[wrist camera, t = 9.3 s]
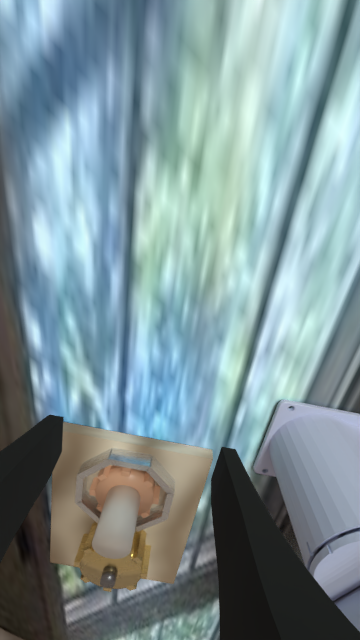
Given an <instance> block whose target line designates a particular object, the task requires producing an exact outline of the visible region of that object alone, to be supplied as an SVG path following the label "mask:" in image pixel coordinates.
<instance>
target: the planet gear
mask: <svg viewBox="0 0 360 640" xmlns="http://www.w3.org/2000/svg"><path fill="white" fill-rule="evenodd" d="M160 487H161V486H155V483H154V479H153V478H152V477H151V476H150V475H149V474H148V473H147V471H142V470H136V469H131V468H125V467H120V466H115V465H112V466H111V465H109V466H107V467H105V468H103V469H101V470H100V471H99V474H98V477H97V478H96V477H94V479H93V482H92V484H91V487H90V490H89V495H92V496H95V497H96V500H97V502H98V505H97V509H98V510H99V511H100V512H101V515H100V518H99V522H98V525H97V528H96V531H95V534H94V537H93V540H92V547H93V549H94V551H95V552H96V553H98V554H99V555H101V556H103V557H106V558H110V559H120V558H124V557H126V556H127V555H129V553H130V552H131V548H132V543H133V537H134V532H135V527H136V522H137V516H138V515H140V516H142V517H143V518H145V517H147V516H149V515H150V508H151V506H152V504H158V503H159V495H160Z"/></svg>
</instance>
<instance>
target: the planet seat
mask: <svg viewBox="0 0 360 640" xmlns="http://www.w3.org/2000/svg"><path fill="white" fill-rule="evenodd" d="M109 465H115V466H120V467H125V468H131V469H136V470H142V471H147V473H148V474H149V475H150V476H151V477H152V478H153V479H154V480H155V481H156V482H157V483H158V484H159V485H160V486H161V487H162V489H163V490H164V491H165V492H166V493H165V497H164V501H163V504H161V505H158V506H156V507H154V508H151V509H150V515H149V516H147V517H145V518H143V517H142V516H140V515H138V516H137V522H136V527H135V532H136V531H137V532H139V531H141V530H143V529H146V528H148V527H151V526H153V525H156V524H158V523H161V522H163V521H165V520H167V519H168V516H169V512H170V508H171V505H172V501H173V497H174V492H175V479H174V478H173V477H172V476H171V475H170V474H169V473H168V471H167V470H166V469H165V468H164V467H163V466H162V465H161V464H160V463H159V462H158V460H157V459H156V458H155V457H154V456H151V454H145V453H140V452H135V451H129V450H124V449H118V448H113V449H112V448H110V449H108V450H106V451H105V452H103V453H101V454H99V455H97V456H95V457H93V458H91V459H89V460H87V461H85V462H83V464H82V465H81V467H80V470H79V472H78V474H77V478H76V492H75V502H76V503H75V504H77V505H78V506H79V507H80V508H81V509H82V510H83V511H84V512H85V513H87V514H88V515H89V516H90V517H91V518H92V519H93V520H94V521H95V522H96V523H98V522H99V518H100V515H101V512H100V511H99V510H98V509H97V505H98V502H97V500H96V498H95V497H94V496H92V495H89V492H88V491H87V490H86V489H87V478H88V476H89V475H91V474H93V473H95V472H97V471H99V470H101V469H103V468H105V467H107V466H109Z"/></svg>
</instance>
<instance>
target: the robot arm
mask: <svg viewBox="0 0 360 640" xmlns="http://www.w3.org/2000/svg"><path fill="white" fill-rule="evenodd" d="M290 406H293V407H292V408H289V407H290ZM62 439H63V417H60V416H54V415H49V416H47V417H46V418H44V419H43V420H42V421H40V422H39V423H38V424H37V425H35V426H34V427H33V428H31V429H30V430H29V431H28V432H26V433H25V434H24V435H22V436H21V437H20V438H18V439H17V440H15V441H14V442H13V443H11V444H10V445H9V446H7V447H6V448H4V449H3V450H2V451H0V562H1V560H2V558H3V556H4V555H5V553H6V551H7V549H8V547H9V545H10V543H11V541H12V539H13V538H14V536H15V534H16V532H17V531H18V529H19V527H20V526H21V524H22V522H23V521H24V519H25V517H26V516H27V514H28V512H29V511H30V509H31V508H32V506H33V504H34V503H35V501H36V499H37V498H38V496H39V494H40V493H41V491H42V489H43V488H44V486H45V484H46V483H47V481H48V479H49V478H50V476H51V474H52V472H53V470H54V468H55V466H56V464H57V461H58V459H59V457H60V455H61V453H62ZM253 468H254V471H255V472H256V473H258V474H263V475H268V476H274V477H277V481H278V484H279V487H280V490H281V493H282V496H283V499H284V502H285V505H286V508H287V511H288V514H289V517H290V521H291V524H292V527H293V530H294V533H295V536H296V539H297V542H298V545H299V548H300V551H301V554H302V558H303V561H304V564H305V566H304V565H303V563H302V562H301V560H300V559H299V558H298V556H297V555H296V553H295V552H294V551H293V549H292V548H291V546H290V545H289V543H288V542H287V541H286V539H285V538H284V536H283V535H282V533H281V532H280V530H279V528H278V527H277V525H276V524H275V522H274V520H273V519H272V517H271V516H270V514H269V512H268V511H267V509H266V507H265V505H264V504H263V502H262V500H261V498H260V497H259V495H258V493H257V491H256V489H255V487H254V486H253V484H252V482H251V480H250V478H249V476H248V474H247V472H246V470H245V468H244V466H243V464H242V462H241V460H240V458H239V456H238V453H237V451H236V450H235V449H231V448H225V447H222V448H221V451H220V454H219V457H218V460H217V463H216V466H215V469H214V472H213V475H212V479H211V506H212V517H213V527H214V536H215V546H216V556H217V565H218V578H219V607H220V640H360V414H358V413H352V412H347V411H342V410H337V409H332V408H326V407H321V406H316V405H311V404H305V403H300V402H295V401H290V400H281V401H280V402H279V403H278V405H277V408H276V410H275V413H274V415H273V418H272V420H271V423H270V425H269V428H268V430H267V433H266V435H265V438H264V441H263V443H262V446H261V448H260V451H259V453H258V456H257V458H256V461H255V463H254V466H253Z"/></svg>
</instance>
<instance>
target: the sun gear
mask: <svg viewBox="0 0 360 640" xmlns="http://www.w3.org/2000/svg"><path fill="white" fill-rule="evenodd" d="M97 525H98V523H96V522H95V523H92V526H91V529H90V532H89V534H84V535H83V538H82V540H81V543H80V546H79V549H78V552H77V555H76V557H75V560H74V567H79V568H80V571H81V573H82V575H81V578H80V579H81V580H83V581H84V582H85V583H87V582H92V583H94V584H96V585H98V586H101V587H104V588H103V590H104V591H110V592H111V590H112V589H121V588H127V589H128V590H133V589H136V586H137V582H138V581H139V580H140V578H142V579H146V578H147V574H148V566H149V559H150V551H151V545H146V542H145V540H146V534H147V533H146V532H145V531H144V530H141V531H139V532H137V531H136V532H134V537H133V543H132V548H131V552H130V553H129V555H127V556H126V557H124V558H120V559H110V558H106V557H103V556H101V555H99V554H98V553H96V552H95V551H94V549H93V547H92V540H93V537H94V534H95V531H96V528H97Z"/></svg>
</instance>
